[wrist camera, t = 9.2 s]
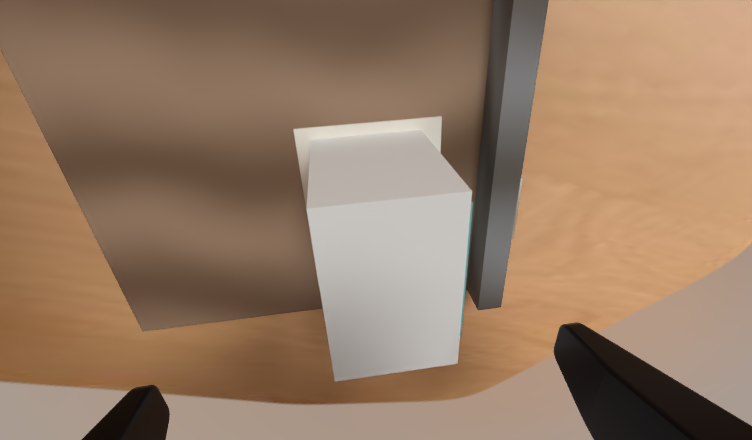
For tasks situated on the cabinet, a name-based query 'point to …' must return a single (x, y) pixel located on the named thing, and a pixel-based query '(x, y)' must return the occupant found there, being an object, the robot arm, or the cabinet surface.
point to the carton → (388, 251)
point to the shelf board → (265, 129)
